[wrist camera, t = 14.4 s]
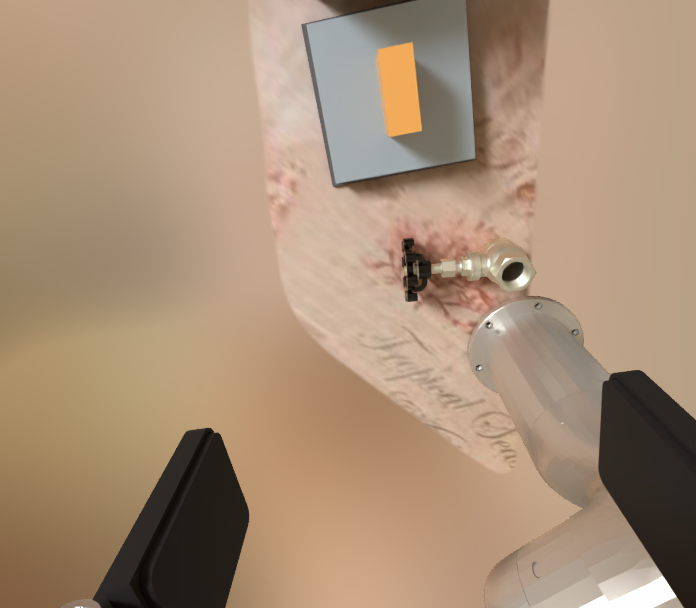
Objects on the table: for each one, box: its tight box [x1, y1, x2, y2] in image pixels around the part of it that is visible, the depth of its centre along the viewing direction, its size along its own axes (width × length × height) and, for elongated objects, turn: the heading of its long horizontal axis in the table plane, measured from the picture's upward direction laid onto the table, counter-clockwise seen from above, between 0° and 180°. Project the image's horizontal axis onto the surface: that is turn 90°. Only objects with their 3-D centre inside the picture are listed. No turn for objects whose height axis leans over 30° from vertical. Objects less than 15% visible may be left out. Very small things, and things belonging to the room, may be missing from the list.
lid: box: [306, 0, 475, 184], centre depth 36 cm, size 13×13×8 cm
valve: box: [402, 238, 536, 302], centre depth 43 cm, size 7×7×12 cm
